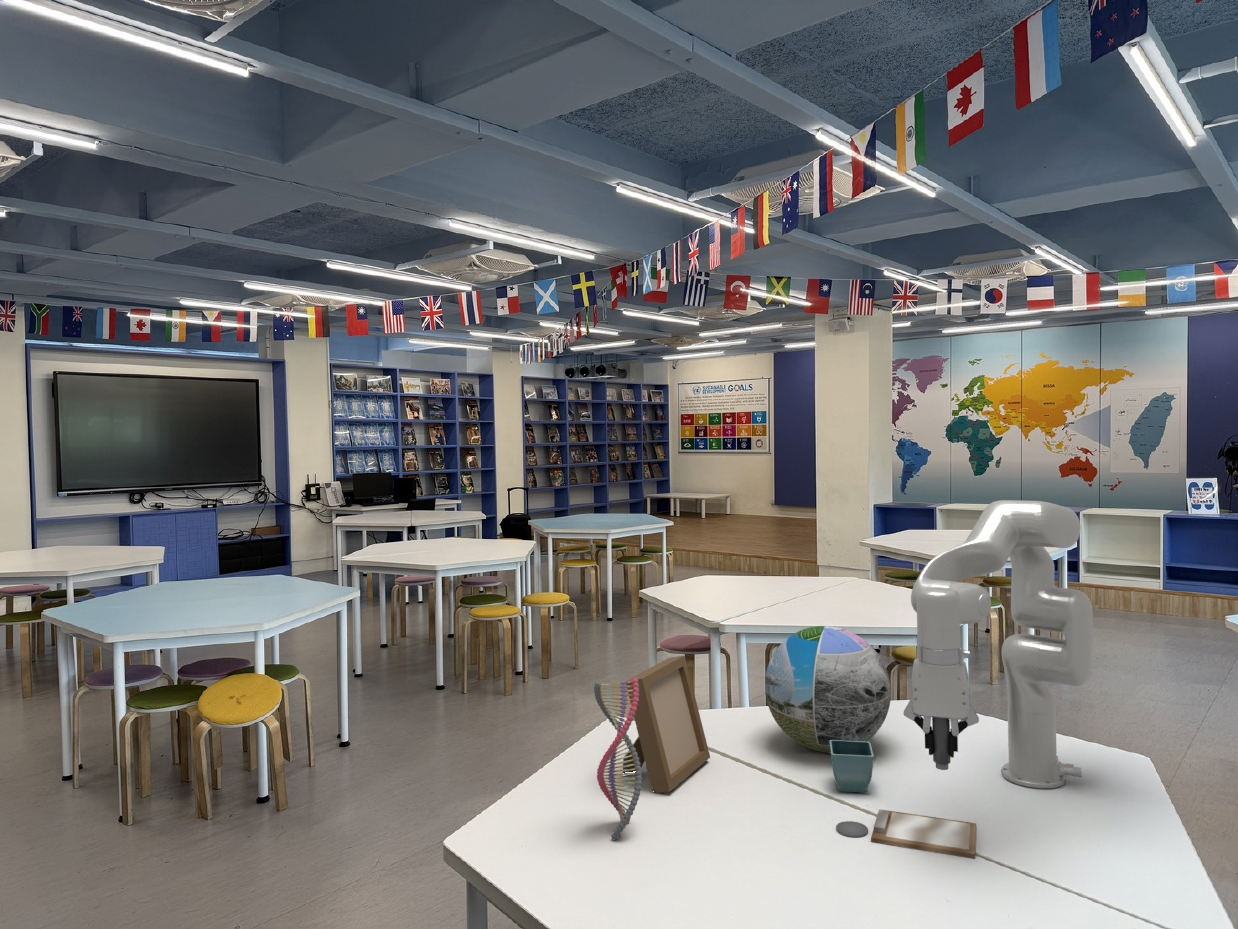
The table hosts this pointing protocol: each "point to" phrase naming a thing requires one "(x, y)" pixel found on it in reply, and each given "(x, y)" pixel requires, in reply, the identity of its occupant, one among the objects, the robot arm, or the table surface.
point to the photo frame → (667, 725)
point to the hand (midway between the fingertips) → (941, 752)
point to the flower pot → (852, 764)
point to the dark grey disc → (852, 829)
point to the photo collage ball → (827, 687)
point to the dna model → (613, 748)
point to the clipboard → (925, 833)
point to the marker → (941, 742)
